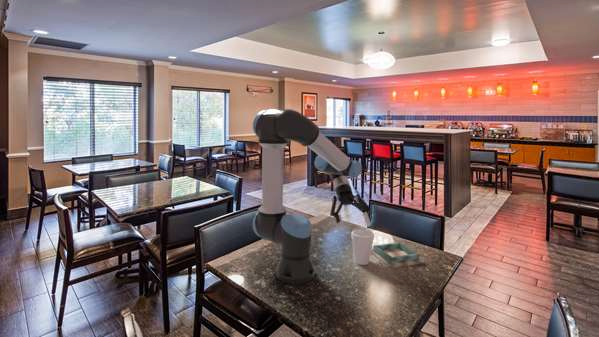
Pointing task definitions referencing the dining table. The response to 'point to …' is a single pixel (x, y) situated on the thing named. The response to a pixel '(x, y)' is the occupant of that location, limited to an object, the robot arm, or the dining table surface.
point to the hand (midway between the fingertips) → (356, 227)
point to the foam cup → (362, 245)
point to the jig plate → (396, 255)
